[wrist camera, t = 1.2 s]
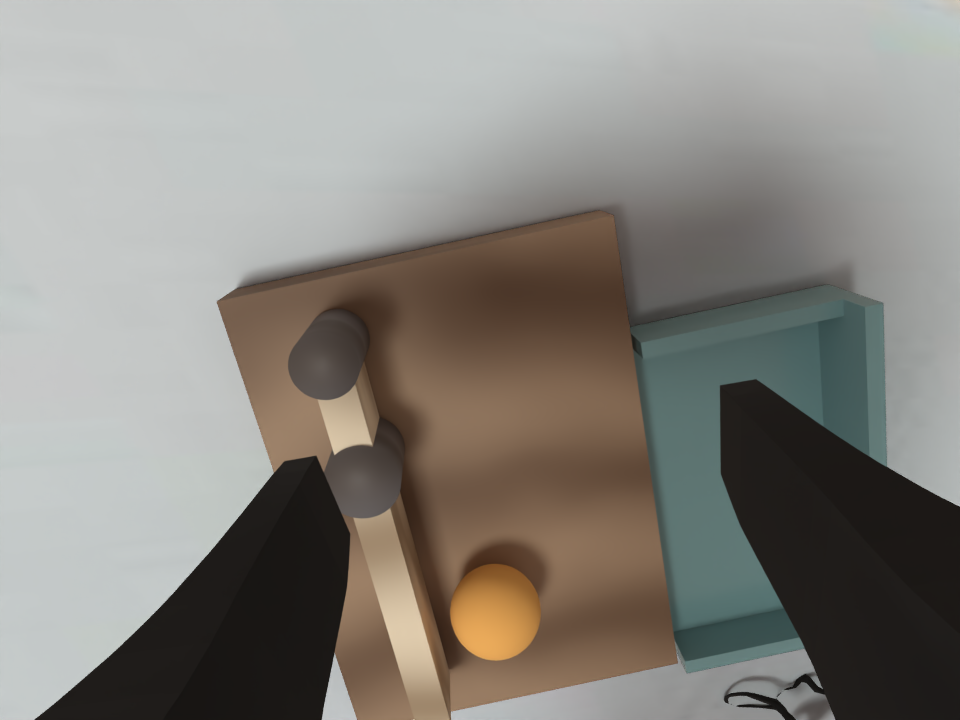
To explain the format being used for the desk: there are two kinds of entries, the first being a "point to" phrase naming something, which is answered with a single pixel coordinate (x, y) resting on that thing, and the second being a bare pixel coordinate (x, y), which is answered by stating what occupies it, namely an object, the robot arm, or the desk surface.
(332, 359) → the lever
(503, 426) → the board
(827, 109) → the desk surface
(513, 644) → the ball
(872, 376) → the teal shallow crate
